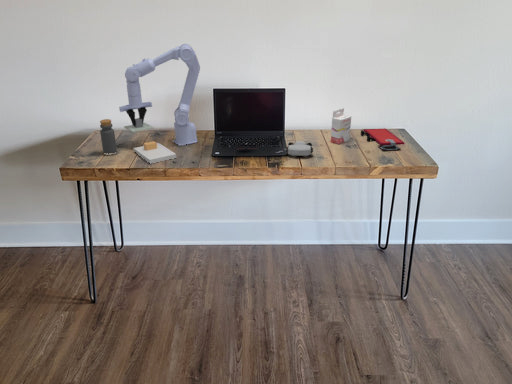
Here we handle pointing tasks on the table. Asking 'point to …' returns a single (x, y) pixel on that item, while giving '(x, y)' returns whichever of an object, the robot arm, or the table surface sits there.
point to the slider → (150, 145)
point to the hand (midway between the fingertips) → (137, 124)
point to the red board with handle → (383, 138)
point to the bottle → (107, 137)
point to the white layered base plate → (155, 153)
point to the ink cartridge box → (340, 127)
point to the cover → (138, 126)
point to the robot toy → (299, 148)
